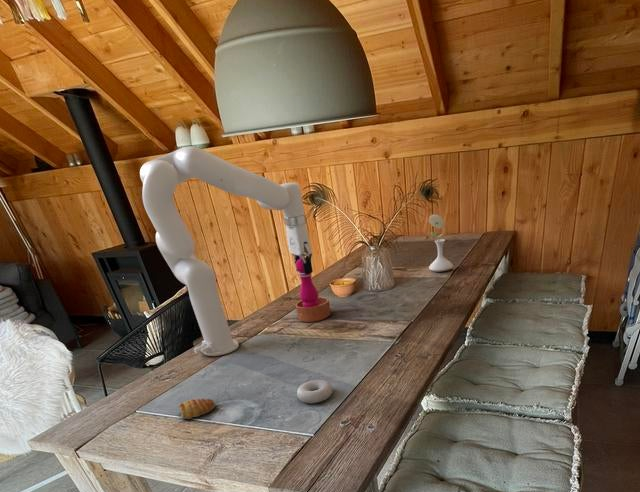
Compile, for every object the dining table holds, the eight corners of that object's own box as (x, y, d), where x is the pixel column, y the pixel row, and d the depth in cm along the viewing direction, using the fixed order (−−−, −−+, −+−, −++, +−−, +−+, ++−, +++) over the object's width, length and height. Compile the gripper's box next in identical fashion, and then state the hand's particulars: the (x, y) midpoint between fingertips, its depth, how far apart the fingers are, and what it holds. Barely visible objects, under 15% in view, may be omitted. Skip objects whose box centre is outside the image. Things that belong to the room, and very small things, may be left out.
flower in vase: (457, 269, 223) (456, 212, 209) (438, 275, 218) (436, 217, 204) (440, 265, 232) (438, 211, 219) (422, 270, 228) (418, 215, 214)
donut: (303, 389, 135) (293, 406, 126) (301, 378, 133) (291, 394, 125) (337, 387, 133) (328, 404, 125) (335, 377, 131) (326, 393, 123)
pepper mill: (318, 308, 182) (309, 255, 171) (300, 310, 182) (290, 257, 171) (321, 302, 188) (312, 251, 177) (303, 304, 188) (293, 253, 177)
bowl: (314, 324, 180) (311, 309, 177) (291, 320, 187) (288, 305, 184) (337, 313, 188) (335, 298, 185) (315, 309, 196) (312, 295, 192)
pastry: (213, 401, 134) (208, 390, 132) (218, 411, 129) (213, 399, 127) (179, 412, 131) (175, 401, 129) (183, 422, 126) (178, 410, 124)
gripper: (275, 221, 172) (286, 271, 182) (297, 224, 160) (306, 277, 170) (293, 218, 176) (302, 266, 186) (315, 220, 164) (324, 272, 173)
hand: (304, 271), depth 178 cm, fingers closed on pepper mill, 6 cm apart
